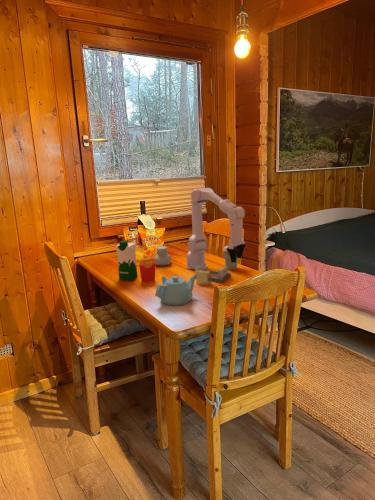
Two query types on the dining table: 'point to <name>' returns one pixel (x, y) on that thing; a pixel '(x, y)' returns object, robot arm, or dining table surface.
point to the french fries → (147, 269)
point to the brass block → (203, 277)
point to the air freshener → (162, 256)
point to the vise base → (212, 274)
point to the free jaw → (222, 272)
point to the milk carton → (126, 260)
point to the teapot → (175, 290)
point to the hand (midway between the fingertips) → (236, 260)
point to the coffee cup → (229, 260)
